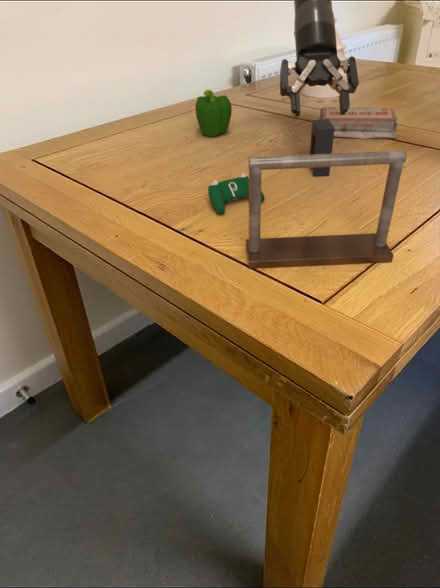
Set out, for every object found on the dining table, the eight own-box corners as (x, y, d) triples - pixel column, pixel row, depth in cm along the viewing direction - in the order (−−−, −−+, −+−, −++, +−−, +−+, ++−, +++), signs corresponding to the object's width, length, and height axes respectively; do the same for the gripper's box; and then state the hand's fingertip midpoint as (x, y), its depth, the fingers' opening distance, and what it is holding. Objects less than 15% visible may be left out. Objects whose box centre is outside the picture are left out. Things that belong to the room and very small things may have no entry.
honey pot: (308, 84, 141) (313, 15, 129) (350, 87, 136) (360, 16, 125) (294, 95, 132) (298, 22, 120) (339, 99, 127) (348, 23, 116)
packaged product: (395, 103, 106) (401, 117, 99) (391, 125, 109) (396, 140, 102) (315, 102, 109) (314, 115, 101) (313, 123, 112) (312, 138, 104)
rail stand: (379, 239, 70) (399, 142, 61) (392, 262, 65) (415, 159, 56) (245, 245, 70) (245, 149, 61) (248, 268, 65) (249, 167, 56)
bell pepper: (217, 124, 114) (215, 81, 108) (238, 133, 108) (237, 88, 102) (188, 132, 110) (185, 87, 104) (209, 142, 105) (206, 95, 98)
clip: (308, 165, 92) (312, 119, 87) (323, 165, 92) (328, 118, 87) (313, 176, 88) (317, 128, 83) (329, 176, 88) (334, 128, 83)
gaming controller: (258, 207, 83) (246, 176, 83) (267, 199, 79) (254, 167, 80) (213, 220, 80) (200, 188, 80) (219, 212, 76) (206, 179, 77)
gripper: (279, 21, 85) (285, 104, 83) (358, 17, 85) (365, 101, 83) (275, 47, 92) (280, 125, 90) (347, 44, 92) (353, 122, 90)
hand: (320, 113), depth 86 cm, fingers open, 8 cm apart
